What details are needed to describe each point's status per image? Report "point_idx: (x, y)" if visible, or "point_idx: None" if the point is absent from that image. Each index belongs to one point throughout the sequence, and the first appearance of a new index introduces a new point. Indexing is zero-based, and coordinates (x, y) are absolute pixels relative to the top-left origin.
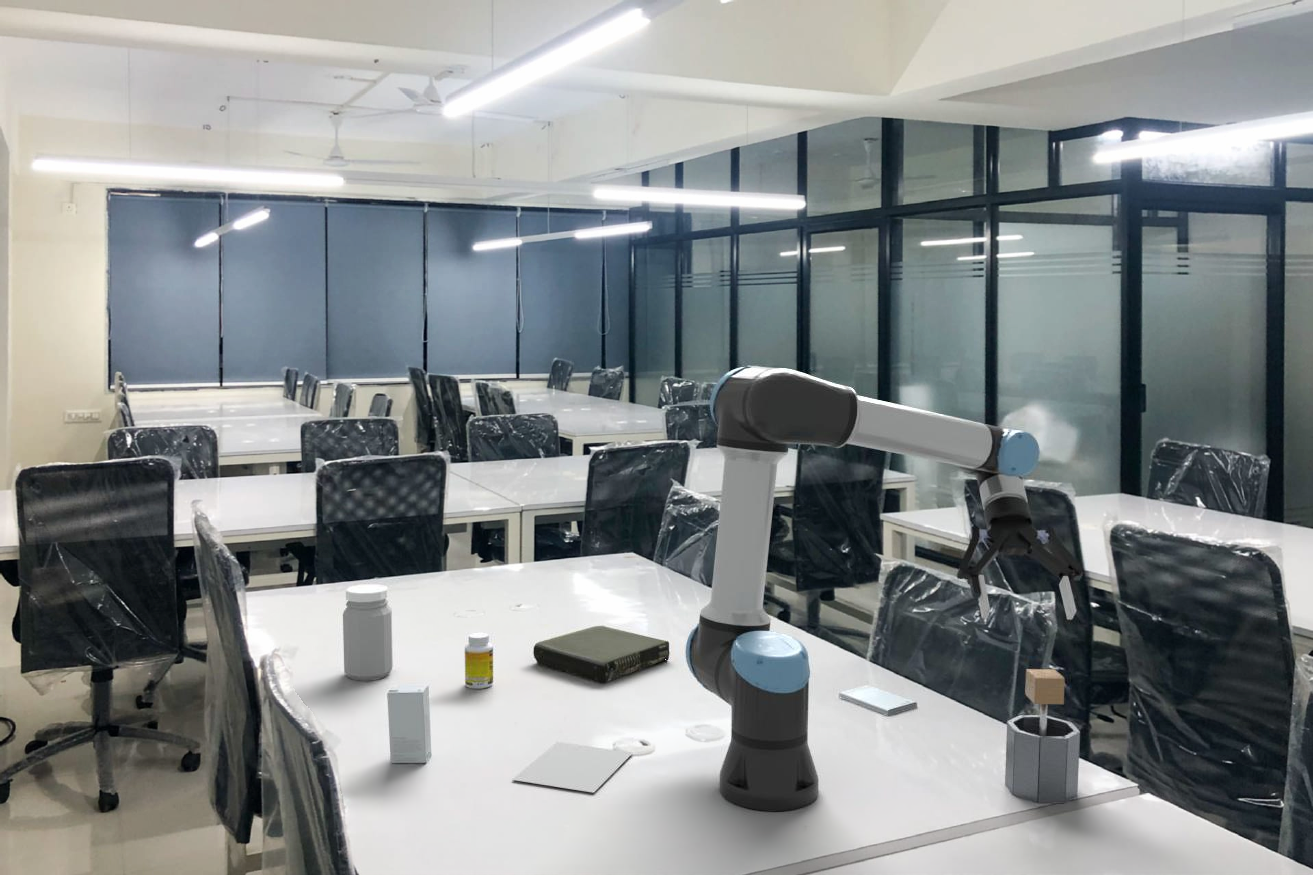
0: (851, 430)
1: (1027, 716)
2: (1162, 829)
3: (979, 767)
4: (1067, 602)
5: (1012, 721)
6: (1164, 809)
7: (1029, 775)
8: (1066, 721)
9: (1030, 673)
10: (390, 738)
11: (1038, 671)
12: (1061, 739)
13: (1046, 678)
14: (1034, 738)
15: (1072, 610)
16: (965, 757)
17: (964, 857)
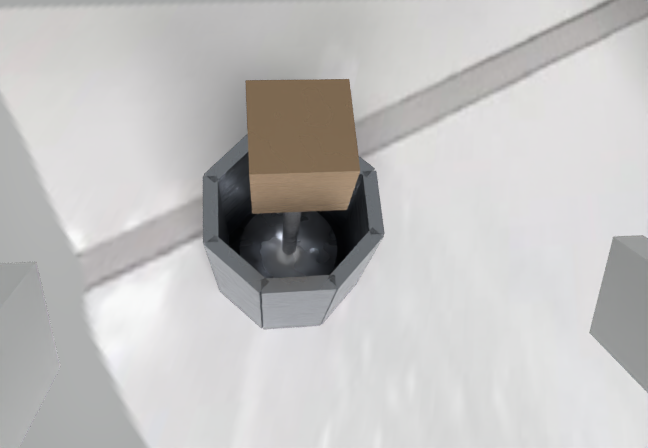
0: None
1: (318, 279)
2: (113, 109)
3: (399, 369)
4: (5, 360)
5: (369, 236)
6: (63, 187)
7: None
8: (214, 248)
9: (354, 124)
10: None
11: (319, 148)
12: None
13: (310, 80)
14: None
15: (30, 262)
16: (425, 431)
17: (462, 15)
